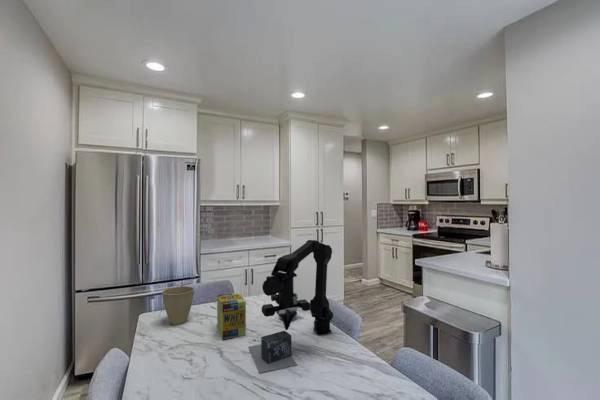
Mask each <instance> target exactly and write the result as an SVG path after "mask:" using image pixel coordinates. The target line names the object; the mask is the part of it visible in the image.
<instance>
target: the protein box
mask: <svg viewBox="0 0 600 400" xmlns="http://www.w3.org/2000/svg"><path fill="white" fill-rule="evenodd" d="M216 298H217V299H216V300H217V302H216V303H217V304H216V307H217V308H216V309H217V311H216V316H217V317H216V319H217V320H216V322H217V324H216V327H217V330H218V333H219V335H220V337H221V340H222V341H227V340H232V339H237V338H243V337H246V336H247V334H246V333H247V328H246V327H247V325H246V324H247V321H246V320H247V317H246V316H247V314H246V312H247V311H246V309H247V308H246V302H247V301H246V300H245V299H244V298H243V296H242V295H241V293H240V292H231V293H230V292H229V293H221V294H217V295H216Z"/></svg>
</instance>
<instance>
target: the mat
mask: <svg viewBox="0 0 600 400" xmlns="http://www.w3.org/2000/svg"><path fill="white" fill-rule="evenodd" d="M247 348H248V349H249V352H250V355H251V357H252V359H253V362H254V364H255V366H256V369H257V371H258V374H260V375H261V374H265V373H270V372H273V371H274V372H275V371H278V370H283V369H287V368H292V367H296V366H298V363H297V361H296V360H295V359H294V356H289V357H286V358H283V359H280V360H278V361H275V362H272V363H269V364H267V363H266V362H265V361H264V360H263V359H262V358H261V343H260V344H255V345H250V346H249V345H248V347H247Z"/></svg>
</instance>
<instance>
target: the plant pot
mask: <svg viewBox="0 0 600 400" xmlns="http://www.w3.org/2000/svg"><path fill="white" fill-rule="evenodd" d="M161 294H162V299H163V301H162V302H163V306H164V309H165V310H164V311H165V313H166V315H167V318H168V322H169V323H170V325H173V326H179V325H182V324H185V323H186V322H187V321H188V317H189V315H190V313H191V312H190V311H191V309H192V304H193V300H194V294H195V287H193V286H189V285H188V286H185V285H183V286H182V285H181V286H175V287H169V288H166V289H164V290H163V291H162V292H161Z"/></svg>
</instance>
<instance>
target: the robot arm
mask: <svg viewBox="0 0 600 400" xmlns="http://www.w3.org/2000/svg"><path fill="white" fill-rule="evenodd" d="M332 253H333V249H332V247H331V245H330V244H325V243H322V242H320V241H318V240H314V239H309V240H307V241H306V242H305V243H303V244H302V245H301V246H299V247H298V248H297V249H296V250H294V251H293V252H292V253H288V254H284V255H281V256H280V257H278V258H277V259H276V262H275V265H274V267H273V269H272V271H271V273H270V274H271V275H270V276H269V275H268V276H266V277H265V278H266V280H264V281H263V283H262V285H261V286H262V291H263V293H264V294H265V296H267V297H270V300H271V302H275V304H277V305H275V306H274V305H273V304H272V303H267V304H262V306H261V313H262V314H263V316H264V317H265V318H266V317H272V316H274V315H275V314H277V316H278V317H279V318H280V317H281V318H282V321H281V322H282V323H283V326H284V330H285V331H287V330H289V328H290V325H291V323H292V322H293V321H292V319H293V318H294V316H295V315H296V314H297V315H298V312H296V308H297V309H301V310H302V311H303V312H306V311H307V312H308V311H310V314H311V317H312V318H314V321H313V331H315V333H316V334H317V335H319V336H323V335H327V334H332V333H333V332H332V330H331V321H332V320H333V318H334V312H333V311H332V310H331V309H330V302H329V300H328V298H327V280H328V279H327V277H328V276H327V275H328V264H329V263H330V261H331V259H332V255H333V254H332ZM310 254H313V260H314V261H315V265H316V266H315V267H316V269H315V285H314V286H315V289H314V296H313V298H312V299H310V301H308V300H306V299H297V303H295V304H294V296H295V292H294V278H295V277H297V276H298V275H297V273H295V271H296V270H297V269H298V267H299V265H300V263H301V262H302V261H303V260H305V258H307V257H308V256H309V255H310ZM285 310H286V313H285ZM291 321H292V322H291Z"/></svg>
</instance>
